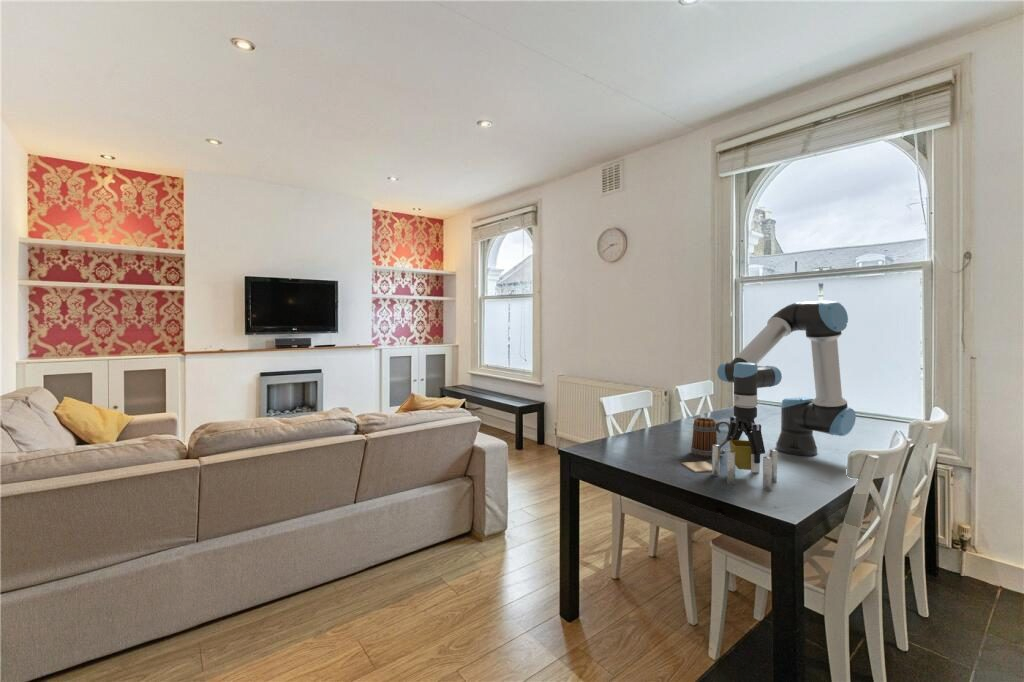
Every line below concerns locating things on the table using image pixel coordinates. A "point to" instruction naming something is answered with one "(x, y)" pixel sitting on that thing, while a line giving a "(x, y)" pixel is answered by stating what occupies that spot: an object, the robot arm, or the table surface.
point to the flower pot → (742, 453)
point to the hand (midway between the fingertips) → (744, 466)
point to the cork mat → (698, 466)
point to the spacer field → (768, 472)
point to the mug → (706, 437)
